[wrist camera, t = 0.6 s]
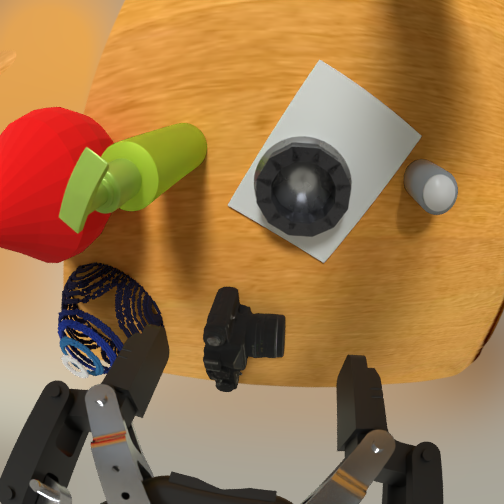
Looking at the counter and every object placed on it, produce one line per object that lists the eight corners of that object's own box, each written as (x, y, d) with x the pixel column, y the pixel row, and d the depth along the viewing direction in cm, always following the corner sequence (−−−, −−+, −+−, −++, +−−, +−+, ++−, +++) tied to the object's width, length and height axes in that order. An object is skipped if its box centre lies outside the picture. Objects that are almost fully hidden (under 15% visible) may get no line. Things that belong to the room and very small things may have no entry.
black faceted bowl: (287, 117, 29) (285, 118, 26) (369, 173, 30) (377, 181, 27) (237, 197, 34) (230, 208, 31) (315, 244, 36) (316, 259, 33)
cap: (419, 150, 28) (438, 160, 24) (446, 176, 29) (466, 190, 24) (395, 182, 31) (410, 197, 26) (423, 206, 31) (440, 224, 27)
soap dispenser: (222, 134, 31) (130, 187, 14) (189, 180, 34) (92, 269, 17) (182, 106, 30) (59, 131, 13) (152, 152, 33) (34, 218, 16)
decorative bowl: (182, 349, 50) (155, 414, 38) (104, 348, 55) (74, 398, 43) (132, 254, 41) (79, 316, 29) (56, 270, 46) (9, 317, 34)
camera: (284, 355, 47) (278, 405, 39) (221, 349, 49) (207, 396, 40) (288, 289, 40) (283, 342, 32) (212, 284, 42) (191, 333, 33)
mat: (319, 60, 25) (319, 59, 25) (420, 135, 27) (421, 136, 27) (228, 204, 35) (227, 205, 35) (323, 261, 37) (323, 262, 37)
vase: (162, 211, 37) (1, 398, 11) (71, 233, 41) (-57, 357, 16) (123, 78, 29) (-119, 130, 3) (35, 129, 33) (-125, 208, 7)
